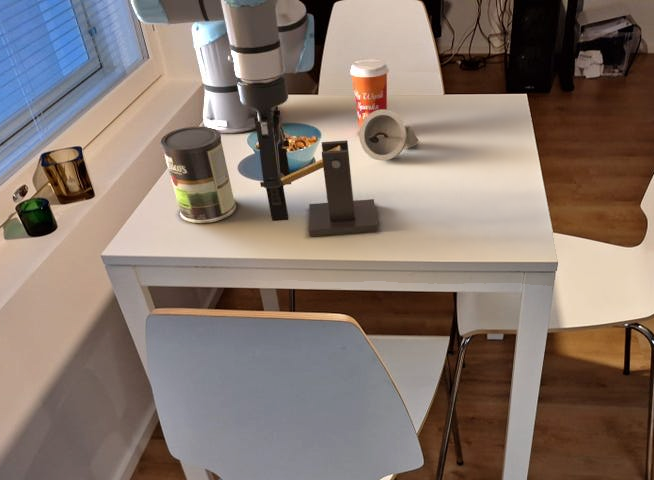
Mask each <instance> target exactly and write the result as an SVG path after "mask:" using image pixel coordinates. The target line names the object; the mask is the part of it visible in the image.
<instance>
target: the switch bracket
mask: <svg viewBox="0 0 654 480" xmlns="http://www.w3.org/2000/svg"><path fill="white" fill-rule="evenodd" d="M339 145H340V146H341V148H342V150H338V151H328V150H331V149H333V148H335V147H337V146H339ZM321 150H322V151H321V160H322V161H323V168H322V169H323V176H324V183H325V191H326V199H327V202H317V203H309V204H308V237H309V238H311V237H323V236H324V237H325V236H337V235H338V236H339V235H350V234H351V235H352V234H362V233H374V232H378V221H377V214H376V213H377V212H376V205H375V199H374V198H371V199H360V200H359V199H357V200H354V194H353V182H352V174H351V173H352V172H351V161H350V152H349V142H348V140H347V139H346V140H334V141H322V142H321Z"/></svg>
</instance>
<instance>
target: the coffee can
mask: <svg viewBox="0 0 654 480" xmlns="http://www.w3.org/2000/svg"><path fill="white" fill-rule="evenodd" d="M159 143H160V147H161V148H162V151H163V155H164V158H165V162H166V165H167V169H168V172H169V176H170V180H171V183H172V187H173V190H174V193H175V198H176V201H177V205H178V208H179V212H180V213H179V214H180V217H181V218H182V219H183V220H184V221H186V222H188V223H193V224H209V223H215V222H219V221H221V220H224V219H226V218H229V216H231V215H233V213H234V212H235V211H236V209H237V205H236V202H235V198H234V193H233V189H232V184H231V180H230V175H229V170H228V166H227V162H226V157H225V151H224V147H223V142H222V133H220V132H219V131H218V130H216V129H214V128H210V127H205V126H188V127H182V128H179V129H175V130H173V131H170V132H168V133H166V134H164V135H163V136H162V137H161V139H160V141H159Z"/></svg>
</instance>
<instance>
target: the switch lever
mask: <svg viewBox="0 0 654 480" xmlns="http://www.w3.org/2000/svg"><path fill="white" fill-rule="evenodd" d="M338 150H342V148H341V146H340V145H339V146H337V147H335V148H333V149H331V150H328V151H338ZM321 169H323V161H322V159H320V160H317V161H315V162H313V163H311V164H308V165H307V166H304V167H302V168H300V169H298V170H296V171H294V172H291V173H290V174H289V175H287V176H285V177H284V174H283V173H281V172H280V176H281V180H282V182H283V187H284V186H286V184H288V185H290V184H289V183H291V184H292V183H293V182H295V181H297V180H299V179H301V178H304V177H306V176H308V175H310V174H312V173H314V172H317V171H318V170H321Z"/></svg>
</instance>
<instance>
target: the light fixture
mask: <svg viewBox="0 0 654 480" xmlns="http://www.w3.org/2000/svg"><path fill="white" fill-rule="evenodd" d="M359 143H360V145H361V148H362V149H363V151H364V153H365V154H366V155H367V156H369V157H370V158H372V159H374V160H377V161H388V160H392V159H393V158H395V157H397V156H398V155H400V154H401V153H402V152H403V150H404V149H410V148H413V147H415V146H416V145H417V144H418V143H419V138H418V136H417V134H415V132H414V130H413V129H412V128H411V126H410V125H409V123H407V124H405V123H404V121H403V120H402V118H401V117H400V116H399V115H398V114H397V113H396V112H395V111H393V110H390V109H387V110H385V109H381V110H376V111H374V112H372V113H370V114H369V115H368V116H367V117H366V118H365V119H364V121H363V123H362V125H361V128H359Z"/></svg>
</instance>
